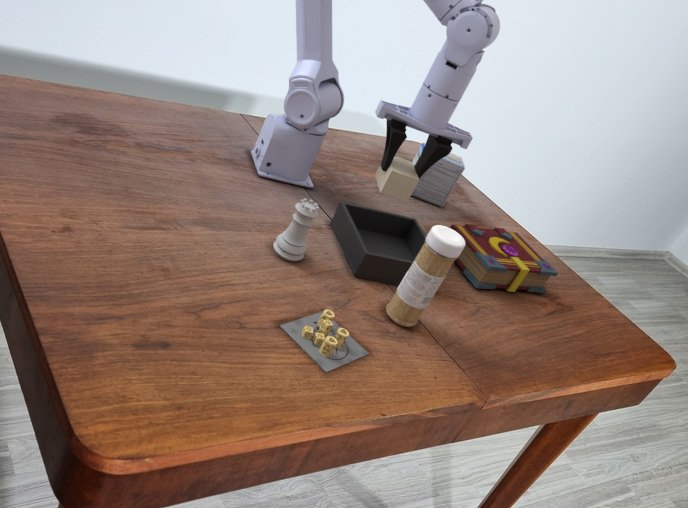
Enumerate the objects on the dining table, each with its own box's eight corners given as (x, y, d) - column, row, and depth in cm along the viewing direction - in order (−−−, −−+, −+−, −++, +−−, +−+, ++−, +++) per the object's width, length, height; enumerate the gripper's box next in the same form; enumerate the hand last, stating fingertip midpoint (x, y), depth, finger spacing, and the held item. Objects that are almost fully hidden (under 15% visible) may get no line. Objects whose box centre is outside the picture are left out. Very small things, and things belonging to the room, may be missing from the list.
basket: (353, 276, 97) (366, 253, 95) (329, 222, 107) (340, 200, 105) (434, 292, 102) (447, 270, 99) (404, 239, 112) (415, 218, 110)
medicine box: (439, 197, 131) (462, 157, 126) (442, 208, 127) (466, 167, 123) (400, 182, 130) (422, 141, 125) (402, 192, 126) (424, 150, 122)
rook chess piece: (307, 255, 97) (330, 206, 93) (295, 267, 93) (318, 217, 89) (279, 238, 98) (301, 190, 93) (266, 250, 94) (288, 200, 90)
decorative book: (437, 244, 114) (452, 219, 112) (507, 252, 122) (523, 229, 120) (475, 290, 107) (492, 264, 104) (547, 295, 115) (565, 271, 112)
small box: (380, 193, 105) (391, 170, 103) (374, 175, 110) (385, 152, 108) (407, 202, 106) (419, 179, 104) (400, 183, 111) (412, 162, 109)
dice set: (322, 319, 86) (328, 308, 85) (351, 347, 83) (358, 335, 82) (294, 329, 82) (301, 317, 81) (324, 358, 80) (331, 346, 79)
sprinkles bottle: (403, 305, 96) (452, 224, 88) (422, 328, 93) (474, 246, 85) (378, 305, 93) (425, 222, 86) (396, 329, 90) (447, 245, 83)
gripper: (479, 97, 104) (436, 176, 112) (390, 64, 101) (352, 146, 108) (492, 116, 99) (445, 197, 106) (398, 81, 95) (357, 167, 103)
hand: (398, 173), depth 107 cm, fingers closed on small box, 4 cm apart
